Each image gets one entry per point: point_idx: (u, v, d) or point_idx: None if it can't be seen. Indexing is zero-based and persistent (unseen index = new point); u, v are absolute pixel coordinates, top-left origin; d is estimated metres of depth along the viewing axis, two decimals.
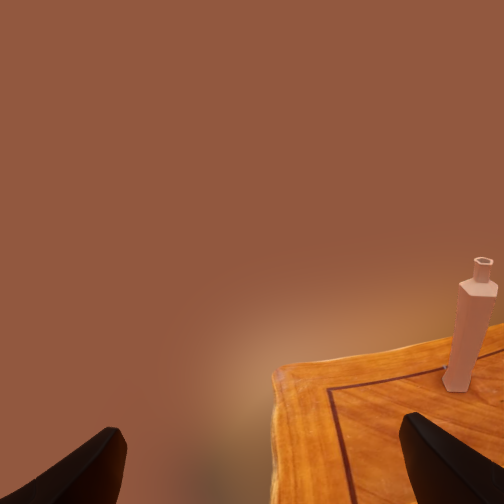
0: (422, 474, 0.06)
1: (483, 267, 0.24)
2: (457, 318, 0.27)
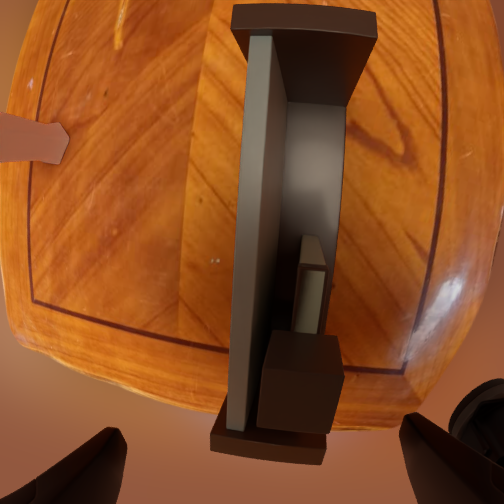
0: (422, 474, 0.06)
1: None
2: None
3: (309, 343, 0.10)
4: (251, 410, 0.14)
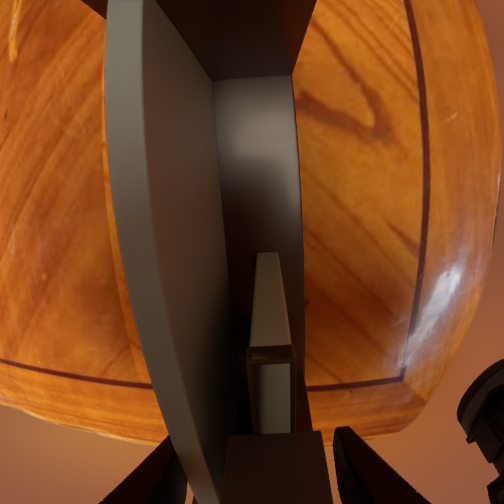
0: (347, 492, 0.06)
1: None
2: None
3: (281, 457, 0.06)
4: None
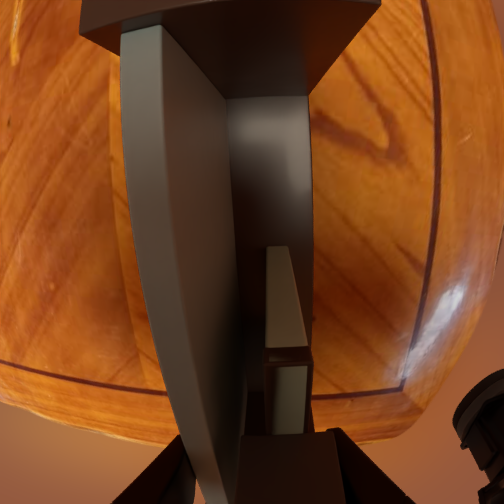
0: None
1: None
2: None
3: (294, 459, 0.06)
4: None
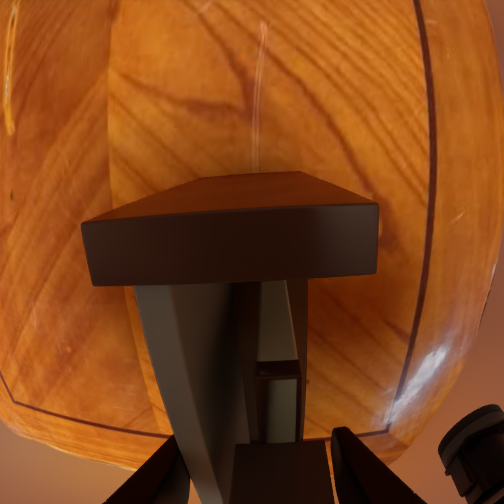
0: (344, 493, 0.06)
1: None
2: None
3: (286, 466, 0.06)
4: None
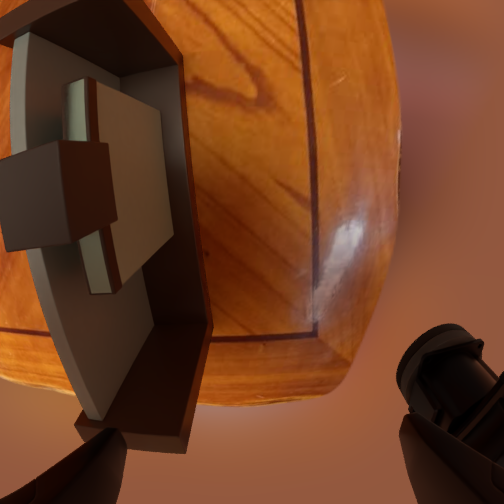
0: (422, 474, 0.06)
1: None
2: None
3: None
4: (115, 398, 0.13)
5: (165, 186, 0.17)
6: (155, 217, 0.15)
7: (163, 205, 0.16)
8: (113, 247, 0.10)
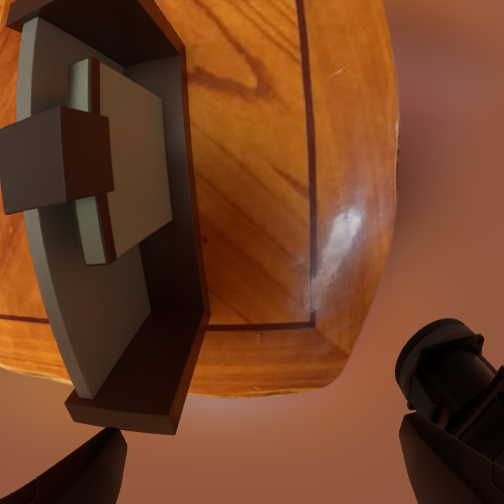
0: (422, 474, 0.06)
1: None
2: None
3: None
4: (107, 378, 0.13)
5: (165, 171, 0.17)
6: (153, 199, 0.15)
7: (162, 189, 0.16)
8: (109, 219, 0.10)
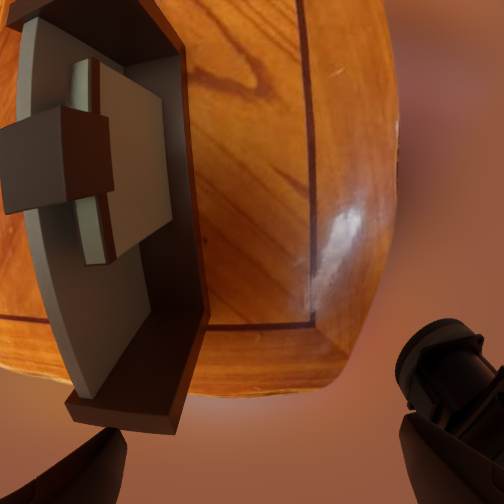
0: (422, 474, 0.06)
1: None
2: None
3: None
4: (107, 378, 0.13)
5: (165, 171, 0.17)
6: (153, 199, 0.15)
7: (162, 189, 0.16)
8: (109, 219, 0.10)
